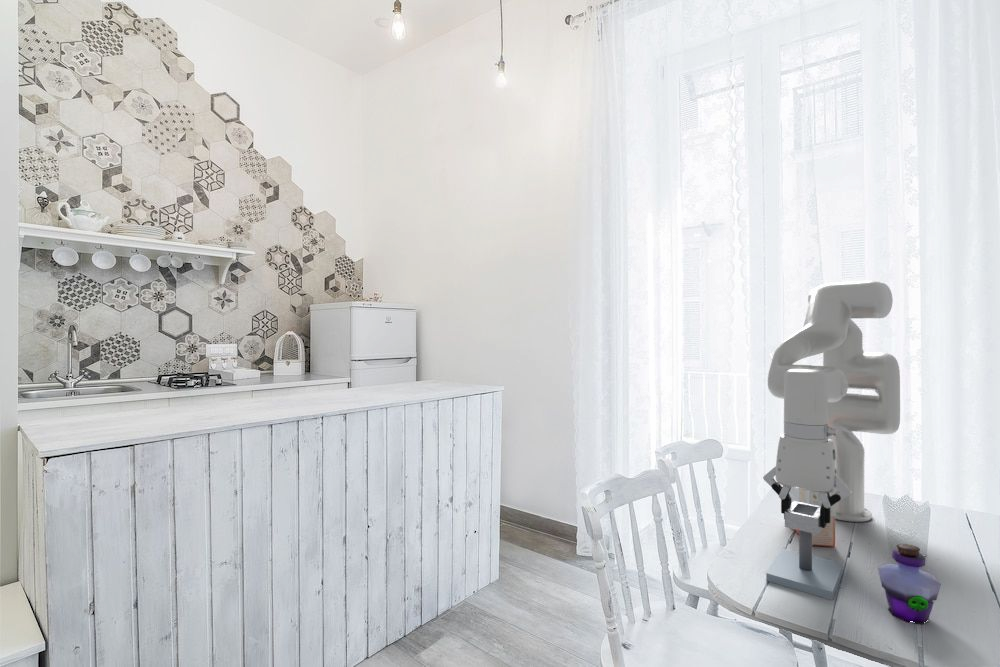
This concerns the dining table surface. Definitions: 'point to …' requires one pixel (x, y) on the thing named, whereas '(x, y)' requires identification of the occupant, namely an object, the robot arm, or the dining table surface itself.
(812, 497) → the cracker box
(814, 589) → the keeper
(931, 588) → the potion bottle
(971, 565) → the dining table surface
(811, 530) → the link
